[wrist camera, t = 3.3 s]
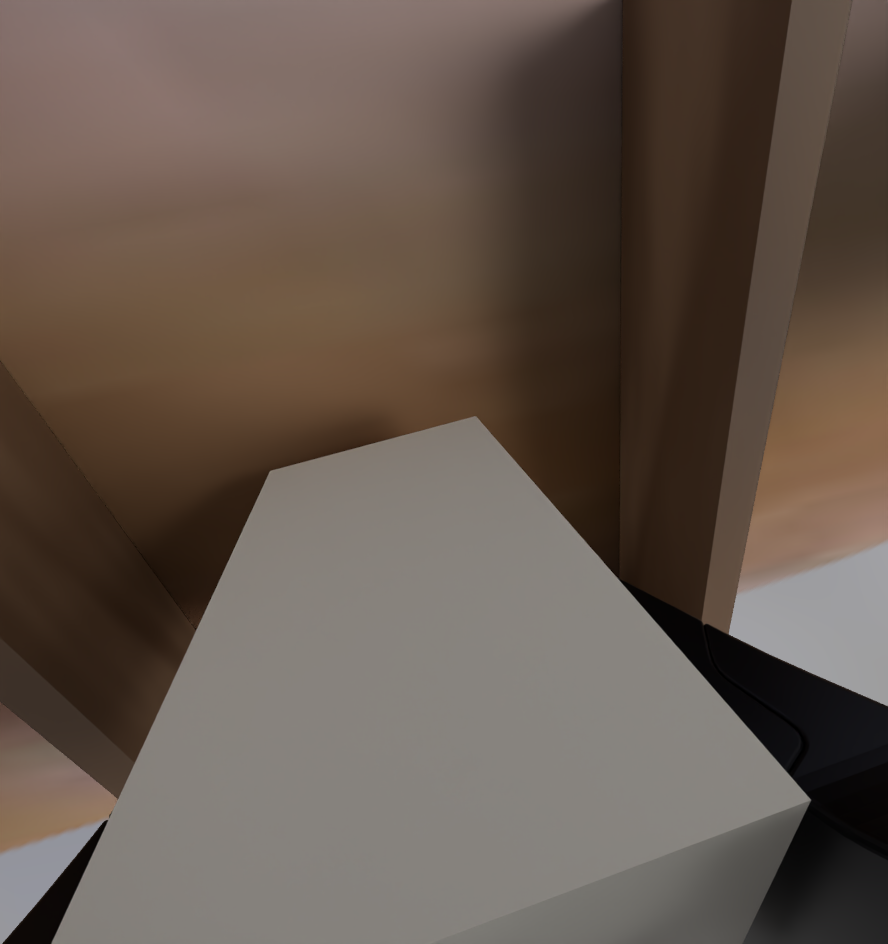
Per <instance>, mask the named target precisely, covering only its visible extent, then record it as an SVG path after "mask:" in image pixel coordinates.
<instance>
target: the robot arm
mask: <svg viewBox="0 0 888 944" xmlns="http://www.w3.org/2000/svg"><path fill="white" fill-rule="evenodd" d="M617 578H618V577H617ZM618 579H619V581H620V582H621V583H622V584H623V585H624V586H625V587H626V589H627V590H628V591H629V592H630V593H631V594H632V596H633V597H634V598H635V599H636V600H637V601H638V602H639V604H640V605H641V606H642V607H643V608H644V609H645V610H646V612H647V613H648V614H649V615H650V616H651V617H652V618H653V620H654V621H655V622H656V623H657V624H658V625H659V626H660V628H661V629H662V630H663V631H664V632H665V633H666V634H667V636H668V637H669V638H670V639H671V640H672V641H673V642H674V644H675V645H676V646H677V647H678V648H679V649H680V650H681V652H682V653H683V654H684V655H685V656H686V657H687V658H688V660H689V661H690V662H691V663H692V664H693V665H694V667H695V668H696V669H697V670H698V671H699V672H700V673H701V675H702V676H703V677H704V678H705V679H706V680H707V681H708V683H709V684H710V685H711V686H712V687H713V688H714V689H715V691H716V692H717V693H718V694H719V695H720V696H721V697H722V699H723V700H724V701H725V702H726V703H727V704H728V705H729V707H730V708H731V709H732V710H733V711H734V712H735V713H736V715H737V716H738V717H739V718H740V719H741V720H742V721H743V723H744V724H745V725H746V726H747V727H748V728H749V730H750V731H751V732H752V733H753V734H754V735H755V736H756V738H757V739H758V740H759V741H760V742H761V743H762V744H763V746H764V747H765V748H766V749H767V750H768V751H769V752H770V754H771V755H772V756H773V757H774V758H775V759H776V760H777V762H778V763H779V764H780V765H781V766H782V767H783V768H784V770H785V771H786V772H787V773H788V774H789V775H790V776H791V778H792V779H793V780H794V781H795V782H796V783H797V784H798V786H799V787H800V788H801V789H802V790H803V791H804V792H805V794H806V795H807V796H808V797H809V798H810V799H811V801H810V803H809V806H808V808H807V810H806V812H805V814H804V816H803V818H802V820H801V822H800V824H799V826H798V829H797V831H796V833H795V835H794V837H793V839H792V841H791V843H790V845H789V847H788V849H787V852H786V854H785V856H784V858H783V860H782V862H781V864H780V866H779V868H778V870H777V872H776V875H775V877H774V879H773V881H772V883H771V885H770V887H769V889H768V891H767V893H766V895H765V898H764V900H763V902H762V904H761V906H760V908H759V910H758V912H757V914H756V916H755V918H754V921H753V923H752V925H751V927H750V929H749V931H748V933H747V935H746V937H745V939H744V941H743V944H888V706H886V705H884V704H881V703H879V702H877V701H874V700H872V699H869V698H867V697H865V696H863V695H860V694H858V693H856V692H853V691H851V690H849V689H846V688H844V687H842V686H839V685H837V684H835V683H832V682H830V681H828V680H826V679H823V678H821V677H818V676H816V675H814V674H812V673H809V672H807V671H805V670H803V669H801V668H798V667H796V666H794V665H791V664H789V663H787V662H785V661H783V660H780V659H778V658H776V657H774V656H771V655H769V654H767V653H765V652H763V651H761V650H759V649H757V648H755V647H753V646H751V645H749V644H747V643H745V642H743V641H741V640H739V639H737V638H734V637H733V636H731V635H729V634H727V633H725V632H723V631H721V630H719V629H717V628H715V627H713V626H711V625H709V624H705V625H704V624H703V622H702V621H701V620H699V619H697V618H695V617H693V616H692V615H690V614H688V613H686V612H684V611H682V610H680V609H678V608H676V607H674V606H672V605H670V604H668V603H666V602H664V601H662V600H660V599H659V598H657V597H655V596H653V595H651V594H649V593H647V592H645V591H643V590H641V589H639V588H637V587H635V586H633V585H631V584H629V583H628V582H626V581H624V580H622V579H620V578H618ZM112 812H113V811H112ZM112 812H111V814H112ZM111 814H110V815H109V818H110V816H111ZM107 822H108V820H106V821H104V822H103V823H102V825H101V826H100V827H99V828H98V830H97V831H96V832H95V833H94V835H93V836H92V837H91V838H90V840H89V841H88V842H87V843H86V845H85V846H84V847H83V848H82V850H81V851H80V852H79V853H78V854H77V856H76V857H75V858H74V859H73V860H72V862H71V863H70V864H69V865H68V867H67V868H66V869H65V870H64V872H63V873H62V874H61V875H60V876H59V877H58V879H57V880H56V881H55V882H54V884H53V885H52V886H51V887H50V888H49V890H48V891H47V892H46V893H45V895H44V896H43V897H42V898H41V899H40V901H39V902H38V903H37V904H36V905H35V907H34V908H33V909H32V910H31V911H30V912H29V913H28V914H27V916H26V917H25V918H24V919H23V921H21V923H20V924H19V925H18V926H17V927H16V928H15V930H14V931H13V932H12V933H11V934H10V935H9V937H8V938H7V939H6V940H5V941H4V942H3V944H51V943H52V941H53V939H54V937H55V935H56V933H57V930H58V928H59V926H60V924H61V922H62V920H63V917H64V915H65V913H66V911H67V909H68V907H69V904H70V902H71V900H72V898H73V896H74V894H75V892H76V889H77V887H78V885H79V883H80V881H81V879H82V876H83V874H84V872H85V870H86V868H87V866H88V863H89V861H90V859H91V857H92V855H93V853H94V850H95V848H96V846H97V844H98V842H99V840H100V837H101V835H102V833H103V831H104V829H105V827H106V825H107Z"/></svg>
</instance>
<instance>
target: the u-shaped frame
mask: <svg viewBox="0 0 888 944" xmlns="http://www.w3.org/2000/svg"><path fill="white" fill-rule="evenodd" d="M851 5H852V0H623V74H622V242H621V409H620V577H619V578H620V579H622V580H624V581H626V582H628V583H629V584H631V585H633V586H635V587H637V588H639V589H641V590H643V591H645V592H647V593H649V594H651V595H653V596H655V597H657V598H659V599H660V600H662V601H664V602H666V603H668V604H670V605H672V606H674V607H676V608H678V609H680V610H682V611H684V612H686V613H688V614H690V615H692V616H693V617H695V618H697V619H699V620H701V621H702V622H703V624H704V625H705V624H709V625H711V626H713V627H715V628H717V629H719V630H721V631H723V632H725V633H727V634H729V628H730V623H731V618H732V613H733V608H734V603H735V598H736V593H737V588H738V582H739V577H740V572H741V567H742V562H743V557H744V552H745V547H746V542H747V536H748V531H749V526H750V521H751V516H752V511H753V506H754V501H755V496H756V490H757V485H758V480H759V475H760V470H761V465H762V460H763V455H764V450H765V444H766V439H767V434H768V429H769V424H770V419H771V414H772V409H773V404H774V398H775V393H776V388H777V383H778V378H779V373H780V368H781V363H782V358H783V352H784V347H785V342H786V337H787V332H788V327H789V322H790V317H791V312H792V306H793V301H794V296H795V291H796V286H797V281H798V276H799V271H800V266H801V260H802V255H803V250H804V245H805V240H806V235H807V230H808V225H809V220H810V214H811V209H812V204H813V199H814V194H815V189H816V184H817V179H818V174H819V168H820V163H821V158H822V153H823V148H824V143H825V138H826V133H827V127H828V122H829V117H830V112H831V107H832V102H833V97H834V92H835V87H836V81H837V76H838V71H839V66H840V61H841V56H842V51H843V46H844V41H845V35H846V30H847V25H848V20H849V15H850V10H851ZM195 632H196V630H195V629H194V628H193V626H192V625H191V624H190V622H189V621H188V619H187V618H186V617H185V615H184V614H183V612H182V611H181V610H180V608H179V607H178V606H177V604H176V603H175V601H174V600H173V599H172V597H171V596H170V595H169V593H168V592H167V590H166V589H165V588H164V586H163V585H162V584H161V582H160V581H159V579H158V578H157V577H156V575H155V574H154V572H153V571H152V570H151V568H150V567H149V566H148V564H147V563H146V561H145V560H144V559H143V557H142V556H141V555H140V553H139V552H138V550H137V549H136V548H135V546H134V545H133V544H132V542H131V541H130V539H129V538H128V537H127V535H126V534H125V532H124V531H123V530H122V528H121V527H120V526H119V524H118V523H117V521H116V520H115V519H114V517H113V516H112V515H111V513H110V512H109V510H108V509H107V508H106V506H105V505H104V504H103V502H102V501H101V499H100V498H99V497H98V495H97V494H96V492H95V491H94V490H93V488H92V487H91V486H90V484H89V483H88V481H87V480H86V479H85V477H84V476H83V475H82V473H81V472H80V470H79V469H78V468H77V466H76V465H75V463H74V462H73V461H72V459H71V458H70V457H69V455H68V454H67V452H66V451H65V450H64V448H63V447H62V446H61V444H60V443H59V441H58V440H57V439H56V437H55V436H54V435H53V433H52V432H51V430H50V429H49V428H48V426H47V425H46V423H45V422H44V421H43V419H42V418H41V417H40V415H39V414H38V412H37V411H36V410H35V408H34V407H33V406H32V404H31V403H30V401H29V400H28V399H27V397H26V396H25V395H24V393H23V392H22V390H21V389H20V388H19V386H18V385H17V383H16V382H15V381H14V379H13V378H12V377H11V375H10V374H9V372H8V371H7V370H6V368H5V367H4V366H3V364H2V363H1V361H0V702H1V703H3V704H4V705H5V706H6V707H7V708H9V709H10V710H11V711H12V712H13V713H15V714H16V715H17V716H18V717H20V718H21V719H22V720H23V721H24V722H26V723H27V724H28V725H29V726H30V727H32V728H33V729H34V730H35V731H36V732H38V733H39V734H40V735H41V736H43V737H44V738H45V739H46V740H47V741H49V742H50V743H51V744H52V745H53V746H55V747H56V748H57V749H58V750H59V751H61V752H62V753H63V754H64V755H66V756H67V757H68V758H69V759H70V760H72V761H73V762H74V763H75V764H76V765H78V766H79V767H80V768H81V769H82V770H84V771H85V772H86V773H87V774H89V775H90V776H91V777H92V778H93V779H95V780H96V781H97V782H98V783H99V784H101V785H102V786H103V787H104V788H105V789H107V790H108V791H109V792H110V793H112V794H113V795H114V796H115V797H116V798H118V799H119V796H120V794H121V792H122V790H123V788H124V786H125V783H126V781H127V779H128V777H129V775H130V773H131V770H132V768H133V766H134V764H135V762H136V760H137V758H138V755H139V753H140V751H141V749H142V747H143V745H144V742H145V740H146V738H147V736H148V734H149V732H150V729H151V727H152V725H153V723H154V721H155V719H156V716H157V714H158V712H159V710H160V708H161V706H162V703H163V701H164V699H165V697H166V695H167V693H168V691H169V688H170V686H171V684H172V682H173V680H174V678H175V675H176V673H177V671H178V669H179V667H180V665H181V662H182V660H183V658H184V656H185V654H186V652H187V649H188V647H189V645H190V643H191V641H192V639H193V637H194V634H195Z"/></svg>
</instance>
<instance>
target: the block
mask: <svg viewBox="0 0 888 944" xmlns="http://www.w3.org/2000/svg"><path fill="white" fill-rule="evenodd" d="M810 801H811V799H810V798H809V797H808V796H807V795H806V794H805V792H804V791H803V790H802V789H801V788H800V787H799V786H798V784H797V783H796V782H795V781H794V780H793V779H792V778H791V776H790V775H789V774H788V773H787V772H786V771H785V770H784V768H783V767H782V766H781V765H780V764H779V763H778V762H777V760H776V759H775V758H774V757H773V756H772V755H771V754H770V752H769V751H768V750H767V749H766V748H765V747H764V746H763V744H762V743H761V742H760V741H759V740H758V739H757V738H756V736H755V735H754V734H753V733H752V732H751V731H750V730H749V728H748V727H747V726H746V725H745V724H744V723H743V721H742V720H741V719H740V718H739V717H738V716H737V715H736V713H735V712H734V711H733V710H732V709H731V708H730V707H729V705H728V704H727V703H726V702H725V701H724V700H723V699H722V697H721V696H720V695H719V694H718V693H717V692H716V691H715V689H714V688H713V687H712V686H711V685H710V684H709V683H708V681H707V680H706V679H705V678H704V677H703V676H702V675H701V673H700V672H699V671H698V670H697V669H696V668H695V667H694V665H693V664H692V663H691V662H690V661H689V660H688V658H687V657H686V656H685V655H684V654H683V653H682V652H681V650H680V649H679V648H678V647H677V646H676V645H675V644H674V642H673V641H672V640H671V639H670V638H669V637H668V636H667V634H666V633H665V632H664V631H663V630H662V629H661V628H660V626H659V625H658V624H657V623H656V622H655V621H654V620H653V618H652V617H651V616H650V615H649V614H648V613H647V612H646V610H645V609H644V608H643V607H642V606H641V605H640V604H639V602H638V601H637V600H636V599H635V598H634V597H633V596H632V594H631V593H630V592H629V591H628V590H627V589H626V587H625V586H624V585H623V584H622V583H621V582H620V581H619V579H618V578H617V577H616V576H615V575H614V574H613V573H612V571H611V570H610V569H609V568H608V567H607V566H606V565H605V563H604V562H603V561H602V560H601V559H600V558H599V557H598V555H597V554H596V553H595V552H594V551H593V550H592V549H591V547H590V546H589V545H588V544H587V543H586V542H585V541H584V539H583V538H582V537H581V536H580V535H579V534H578V533H577V531H576V530H575V529H574V528H573V527H572V526H571V524H570V523H569V522H568V521H567V520H566V519H565V518H564V516H563V515H562V514H561V513H560V512H559V511H558V510H557V508H556V507H555V506H554V505H553V504H552V503H551V502H550V500H549V499H548V498H547V497H546V496H545V495H544V494H543V492H542V491H541V490H540V489H539V488H538V487H537V486H536V484H535V483H534V482H533V481H532V480H531V479H530V478H529V476H528V475H527V474H526V473H525V472H524V471H523V470H522V468H521V467H520V466H519V465H518V464H517V463H516V462H515V460H514V459H513V458H512V457H511V456H510V455H509V453H508V452H507V451H506V450H505V449H504V448H503V447H502V445H501V444H500V443H499V442H498V441H497V440H496V439H495V437H494V436H493V435H492V434H491V433H490V432H489V431H488V429H487V428H486V427H485V426H484V425H483V424H482V423H481V421H480V420H479V419H478V418H477V417H476V416H474V417H471V418H467V419H463V420H459V421H456V422H452V423H448V424H444V425H441V426H437V427H433V428H429V429H426V430H422V431H418V432H414V433H411V434H407V435H403V436H399V437H396V438H392V439H388V440H384V441H381V442H377V443H373V444H369V445H366V446H362V447H358V448H354V449H351V450H347V451H343V452H339V453H336V454H332V455H328V456H324V457H321V458H317V459H313V460H309V461H306V462H302V463H298V464H294V465H291V466H287V467H283V468H279V469H276V470H272V471H270V472H269V474H268V477H267V479H266V481H265V483H264V485H263V487H262V490H261V492H260V494H259V496H258V498H257V500H256V503H255V505H254V507H253V509H252V511H251V513H250V515H249V518H248V520H247V522H246V524H245V526H244V528H243V531H242V533H241V535H240V537H239V539H238V541H237V544H236V546H235V548H234V550H233V552H232V554H231V557H230V559H229V561H228V563H227V565H226V567H225V570H224V572H223V574H222V576H221V578H220V580H219V582H218V585H217V587H216V589H215V591H214V593H213V595H212V598H211V600H210V602H209V604H208V606H207V608H206V611H205V613H204V615H203V617H202V619H201V621H200V624H199V626H198V628H197V630H196V632H195V634H194V637H193V639H192V641H191V643H190V645H189V647H188V649H187V652H186V654H185V656H184V658H183V660H182V662H181V665H180V667H179V669H178V671H177V673H176V675H175V678H174V680H173V682H172V684H171V686H170V688H169V691H168V693H167V695H166V697H165V699H164V701H163V703H162V706H161V708H160V710H159V712H158V714H157V716H156V719H155V721H154V723H153V725H152V727H151V729H150V732H149V734H148V736H147V738H146V740H145V742H144V745H143V747H142V749H141V751H140V753H139V755H138V758H137V760H136V762H135V764H134V766H133V768H132V770H131V773H130V775H129V777H128V779H127V781H126V783H125V786H124V788H123V790H122V792H121V794H120V796H119V799H118V801H117V803H116V805H115V807H114V809H113V812H112V814H111V816H110V818H109V820H108V822H107V825H106V827H105V829H104V831H103V833H102V835H101V837H100V840H99V842H98V844H97V846H96V848H95V850H94V853H93V855H92V857H91V859H90V861H89V863H88V866H87V868H86V870H85V872H84V874H83V876H82V879H81V881H80V883H79V885H78V887H77V889H76V892H75V894H74V896H73V898H72V900H71V902H70V904H69V907H68V909H67V911H66V913H65V915H64V917H63V920H62V922H61V924H60V926H59V928H58V930H57V933H56V935H55V937H54V939H53V941H52V943H51V944H743V941H744V939H745V937H746V935H747V933H748V931H749V929H750V927H751V925H752V923H753V921H754V918H755V916H756V914H757V912H758V910H759V908H760V906H761V904H762V902H763V900H764V898H765V895H766V893H767V891H768V889H769V887H770V885H771V883H772V881H773V879H774V877H775V875H776V872H777V870H778V868H779V866H780V864H781V862H782V860H783V858H784V856H785V854H786V852H787V849H788V847H789V845H790V843H791V841H792V839H793V837H794V835H795V833H796V831H797V829H798V826H799V824H800V822H801V820H802V818H803V816H804V814H805V812H806V810H807V808H808V806H809V803H810Z"/></svg>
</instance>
